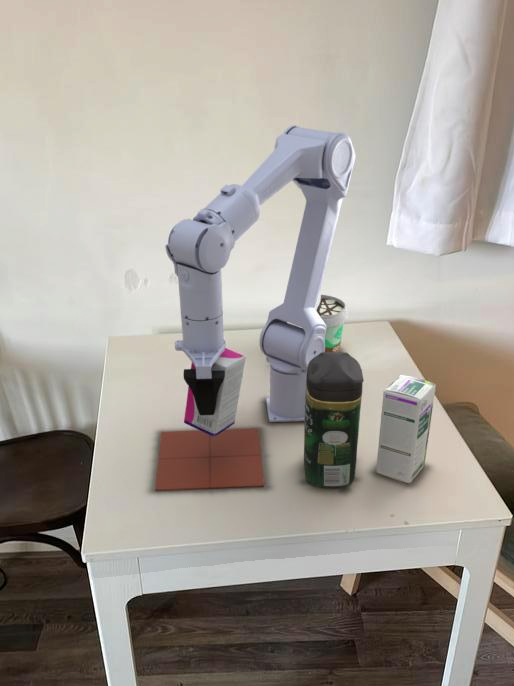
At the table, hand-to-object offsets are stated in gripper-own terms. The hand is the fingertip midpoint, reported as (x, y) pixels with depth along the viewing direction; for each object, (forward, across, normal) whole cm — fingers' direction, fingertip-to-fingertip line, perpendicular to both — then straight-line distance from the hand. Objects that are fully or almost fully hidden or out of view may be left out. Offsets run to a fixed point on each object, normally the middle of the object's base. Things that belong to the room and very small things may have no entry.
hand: (206, 400), depth 103 cm
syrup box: (+11, +5, +29) cm, 31 cm away
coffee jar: (+11, +5, +18) cm, 21 cm away
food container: (+11, -36, +24) cm, 45 cm away
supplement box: (+4, 0, 0) cm, 4 cm away
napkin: (+10, 0, 0) cm, 10 cm away
